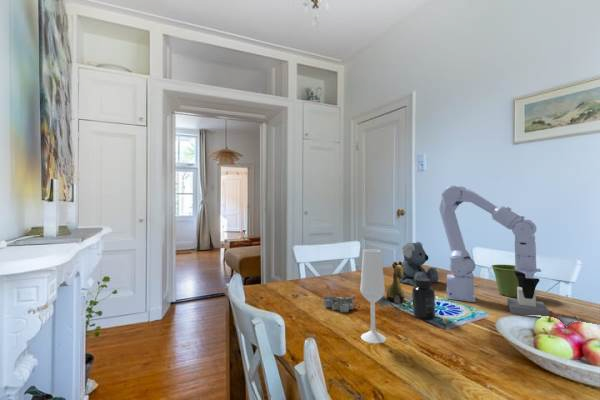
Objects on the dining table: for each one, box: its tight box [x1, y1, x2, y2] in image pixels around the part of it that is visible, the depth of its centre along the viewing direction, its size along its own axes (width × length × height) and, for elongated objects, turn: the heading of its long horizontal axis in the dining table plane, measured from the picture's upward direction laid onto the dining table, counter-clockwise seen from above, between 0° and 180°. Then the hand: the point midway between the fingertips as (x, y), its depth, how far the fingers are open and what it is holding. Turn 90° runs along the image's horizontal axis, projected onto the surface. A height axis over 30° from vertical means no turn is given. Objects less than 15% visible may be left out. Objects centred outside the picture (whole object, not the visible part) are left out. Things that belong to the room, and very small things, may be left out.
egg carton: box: [322, 295, 356, 313], centre depth 106 cm, size 11×8×4 cm
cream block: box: [516, 287, 537, 307], centre depth 100 cm, size 4×4×5 cm
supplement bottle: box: [411, 278, 436, 320], centre depth 97 cm, size 7×7×12 cm
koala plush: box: [399, 241, 439, 287], centre depth 141 cm, size 17×18×20 cm
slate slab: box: [506, 297, 550, 316], centre depth 100 cm, size 10×10×3 cm
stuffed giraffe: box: [377, 261, 413, 309], centre depth 114 cm, size 16×18×16 cm
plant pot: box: [491, 264, 519, 298], centre depth 119 cm, size 12×12×11 cm
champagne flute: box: [359, 248, 387, 344], centre depth 81 cm, size 7×7×24 cm
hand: (526, 295), depth 100 cm, fingers open, 7 cm apart
